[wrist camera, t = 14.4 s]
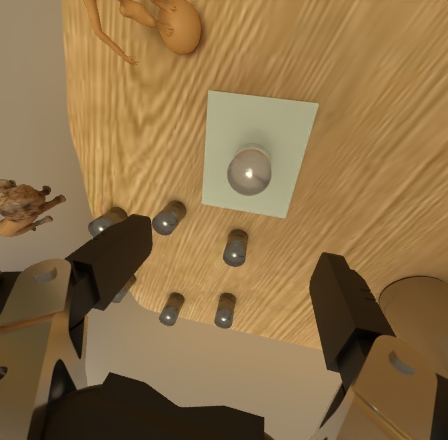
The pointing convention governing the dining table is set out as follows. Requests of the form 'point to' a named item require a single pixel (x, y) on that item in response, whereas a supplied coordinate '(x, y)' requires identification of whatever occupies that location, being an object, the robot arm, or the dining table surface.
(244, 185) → the clear rounded cylinder
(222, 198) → the sage mat
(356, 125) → the dining table surface
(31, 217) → the lion figurine
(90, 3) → the figurine
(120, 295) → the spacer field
